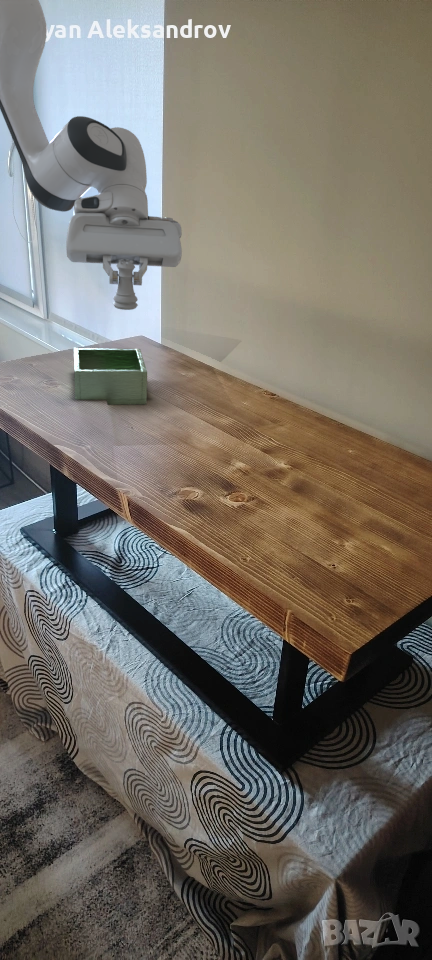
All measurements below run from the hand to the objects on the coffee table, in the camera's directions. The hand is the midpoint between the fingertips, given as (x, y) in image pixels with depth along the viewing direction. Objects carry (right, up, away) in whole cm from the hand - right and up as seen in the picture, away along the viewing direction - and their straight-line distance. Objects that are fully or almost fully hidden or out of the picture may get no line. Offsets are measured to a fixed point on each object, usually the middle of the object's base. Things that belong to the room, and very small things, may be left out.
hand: (125, 283), depth 109 cm
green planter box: (-3, -19, -1) cm, 19 cm away
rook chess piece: (0, -4, +3) cm, 5 cm away
